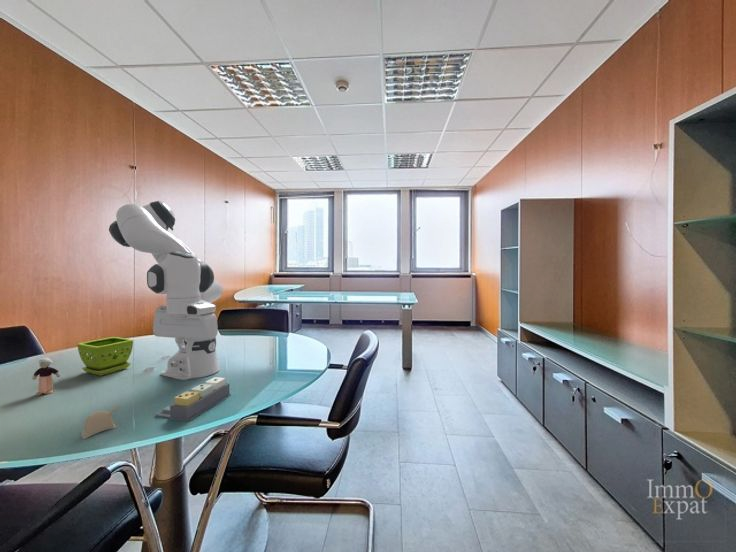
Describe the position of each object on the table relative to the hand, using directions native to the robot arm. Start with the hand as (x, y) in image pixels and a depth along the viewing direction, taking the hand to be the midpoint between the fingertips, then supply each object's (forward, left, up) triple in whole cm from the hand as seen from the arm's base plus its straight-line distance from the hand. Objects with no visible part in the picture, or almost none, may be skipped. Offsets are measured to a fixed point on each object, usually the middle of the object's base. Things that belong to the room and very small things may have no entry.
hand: (185, 352), depth 91 cm
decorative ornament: (-16, -12, -19) cm, 28 cm away
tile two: (0, +6, -17) cm, 18 cm away
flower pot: (-63, +23, -19) cm, 70 cm away
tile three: (0, 0, -16) cm, 16 cm away
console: (-2, +6, -19) cm, 20 cm away
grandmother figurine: (-60, +1, -19) cm, 64 cm away
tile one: (0, +12, -16) cm, 20 cm away
